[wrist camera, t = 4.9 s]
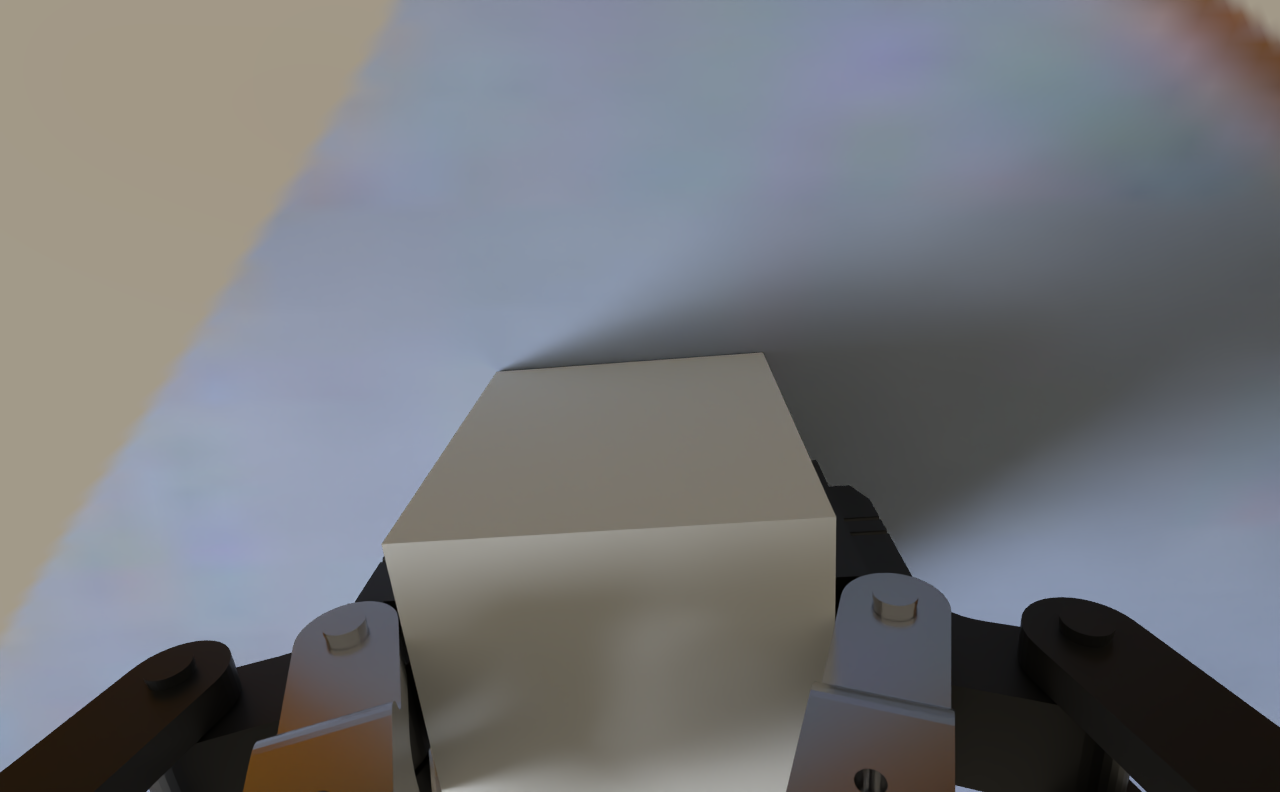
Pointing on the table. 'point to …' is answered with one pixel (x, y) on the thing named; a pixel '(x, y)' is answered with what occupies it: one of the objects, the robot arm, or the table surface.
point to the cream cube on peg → (618, 582)
